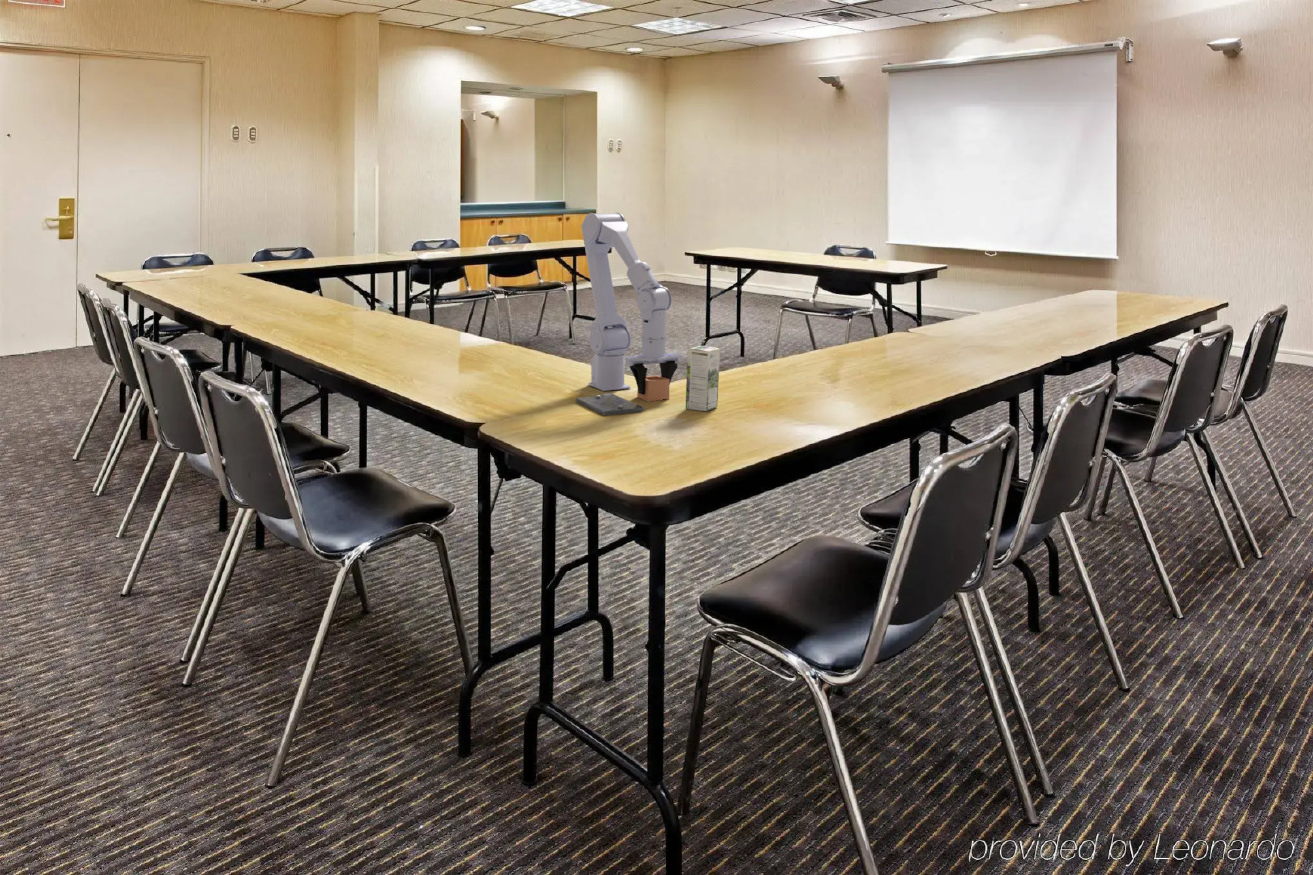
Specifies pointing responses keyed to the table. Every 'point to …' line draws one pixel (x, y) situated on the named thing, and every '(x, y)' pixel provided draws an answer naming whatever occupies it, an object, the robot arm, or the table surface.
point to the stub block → (609, 404)
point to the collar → (655, 388)
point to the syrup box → (702, 378)
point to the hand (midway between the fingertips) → (653, 392)
